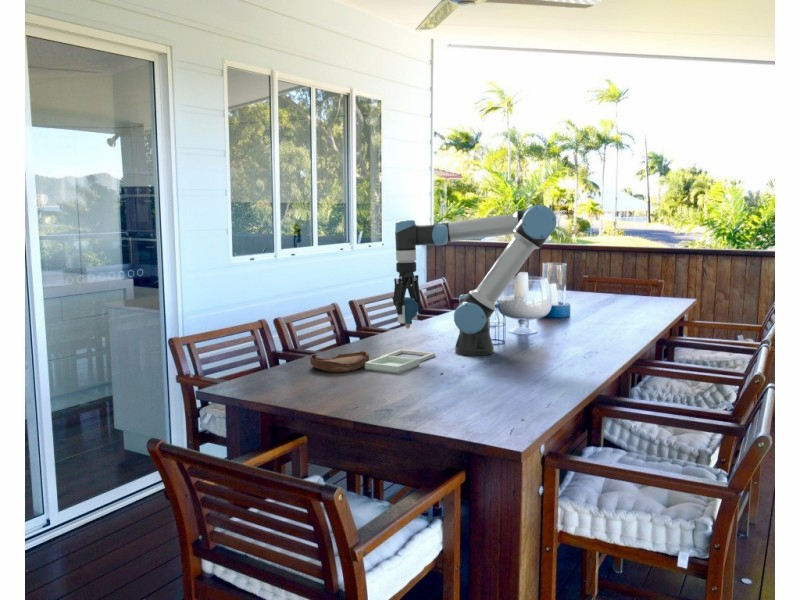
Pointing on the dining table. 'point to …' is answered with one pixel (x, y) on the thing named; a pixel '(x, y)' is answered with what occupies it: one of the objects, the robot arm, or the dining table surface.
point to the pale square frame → (425, 354)
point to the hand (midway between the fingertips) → (407, 321)
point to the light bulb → (409, 310)
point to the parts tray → (392, 364)
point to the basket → (341, 362)
